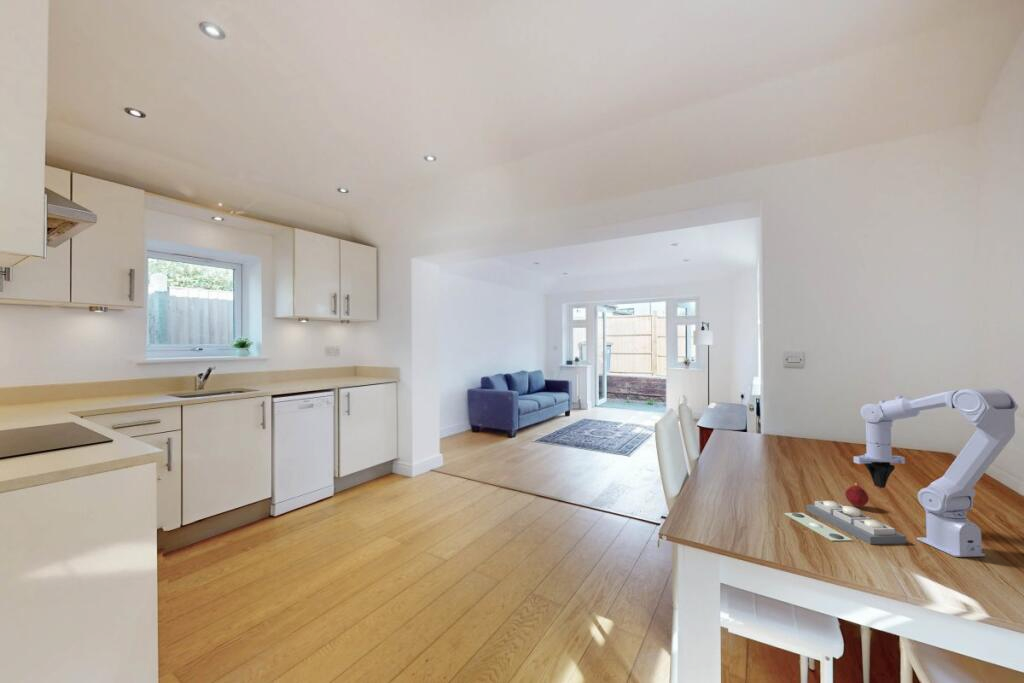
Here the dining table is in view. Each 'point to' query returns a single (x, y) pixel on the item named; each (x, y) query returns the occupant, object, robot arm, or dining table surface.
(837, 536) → the card
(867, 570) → the dining table surface
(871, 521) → the button near
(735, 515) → the dining table surface
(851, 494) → the onion
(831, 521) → the button board
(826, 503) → the button far
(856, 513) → the button middle
